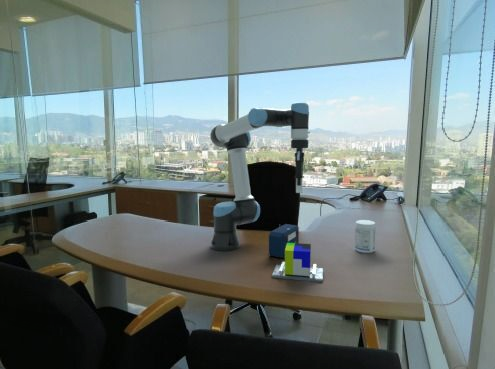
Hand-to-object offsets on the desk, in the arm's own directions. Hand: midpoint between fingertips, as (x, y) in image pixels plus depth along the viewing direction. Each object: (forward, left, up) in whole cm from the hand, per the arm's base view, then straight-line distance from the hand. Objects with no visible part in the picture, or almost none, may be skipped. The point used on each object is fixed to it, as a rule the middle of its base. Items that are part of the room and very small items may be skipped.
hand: (299, 192), depth 141 cm
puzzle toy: (+1, -14, -31) cm, 34 cm away
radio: (-8, +12, -33) cm, 36 cm away
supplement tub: (+31, +23, -33) cm, 51 cm away
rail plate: (+1, -14, -32) cm, 35 cm away
